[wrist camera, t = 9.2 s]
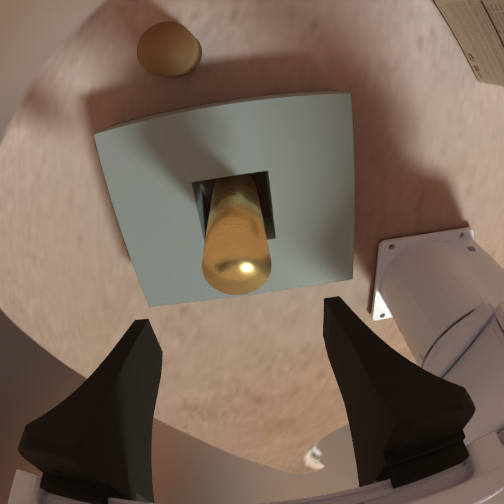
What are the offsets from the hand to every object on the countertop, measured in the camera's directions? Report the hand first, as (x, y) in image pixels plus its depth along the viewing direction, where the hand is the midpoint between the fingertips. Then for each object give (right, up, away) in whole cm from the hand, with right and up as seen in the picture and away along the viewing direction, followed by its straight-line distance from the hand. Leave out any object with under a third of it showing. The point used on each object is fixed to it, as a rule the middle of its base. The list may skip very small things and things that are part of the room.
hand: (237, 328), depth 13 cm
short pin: (-4, +15, +3) cm, 16 cm away
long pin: (-1, +7, +8) cm, 11 cm away
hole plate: (-1, +7, +8) cm, 11 cm away
